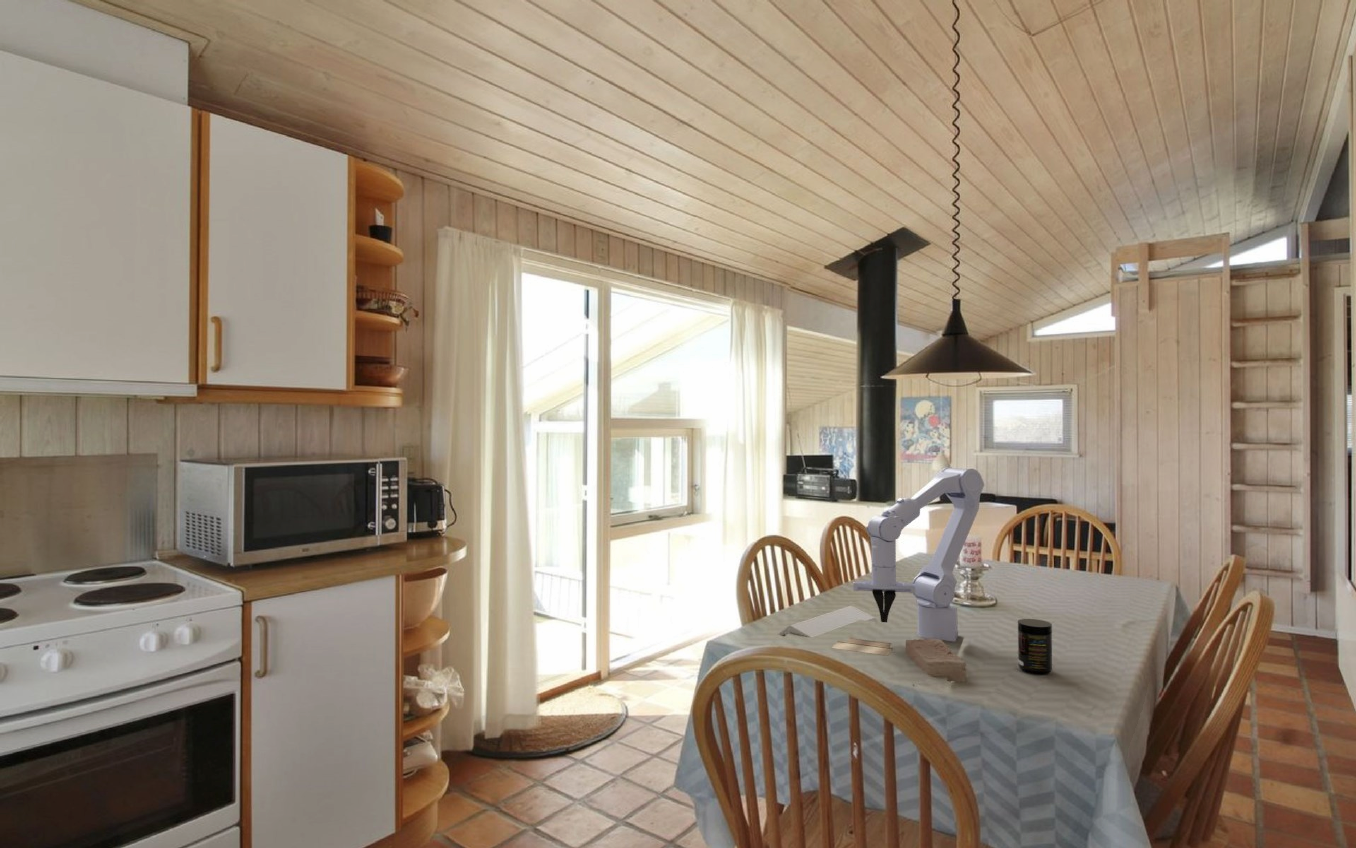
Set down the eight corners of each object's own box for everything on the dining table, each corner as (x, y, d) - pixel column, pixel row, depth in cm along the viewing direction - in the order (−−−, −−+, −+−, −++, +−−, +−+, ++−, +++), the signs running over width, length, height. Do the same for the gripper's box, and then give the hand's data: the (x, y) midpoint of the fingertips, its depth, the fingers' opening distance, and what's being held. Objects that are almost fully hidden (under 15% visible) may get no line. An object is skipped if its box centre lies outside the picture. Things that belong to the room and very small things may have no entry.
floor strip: (892, 653, 170) (892, 647, 170) (887, 660, 164) (887, 654, 164) (838, 646, 175) (837, 640, 175) (831, 653, 170) (831, 647, 170)
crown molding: (817, 646, 178) (817, 631, 178) (777, 636, 186) (777, 622, 186) (876, 623, 198) (876, 610, 198) (838, 615, 207) (838, 603, 207)
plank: (894, 645, 177) (894, 639, 177) (888, 652, 170) (888, 647, 170) (853, 639, 181) (853, 634, 181) (846, 647, 175) (846, 641, 175)
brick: (968, 683, 151) (968, 660, 151) (928, 683, 151) (927, 660, 151) (940, 658, 167) (940, 638, 167) (904, 658, 167) (903, 638, 167)
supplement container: (1059, 675, 154) (1058, 626, 154) (1029, 676, 153) (1028, 627, 154) (1040, 665, 161) (1040, 618, 161) (1011, 666, 160) (1011, 619, 160)
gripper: (912, 563, 178) (913, 618, 178) (852, 561, 181) (852, 615, 181) (916, 568, 171) (916, 626, 171) (853, 566, 174) (853, 623, 174)
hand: (883, 621), depth 176 cm, fingers closed
